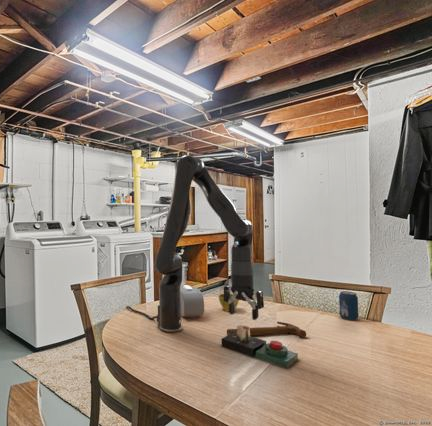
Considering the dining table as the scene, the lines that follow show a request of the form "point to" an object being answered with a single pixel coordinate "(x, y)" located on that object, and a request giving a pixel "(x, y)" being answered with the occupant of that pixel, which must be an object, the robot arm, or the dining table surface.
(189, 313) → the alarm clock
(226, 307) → the flower pot
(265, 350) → the switchbox
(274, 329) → the hammer
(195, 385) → the dining table surface
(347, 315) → the soda can
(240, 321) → the dining table surface
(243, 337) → the dial
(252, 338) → the panel
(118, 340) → the dining table surface
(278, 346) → the button
